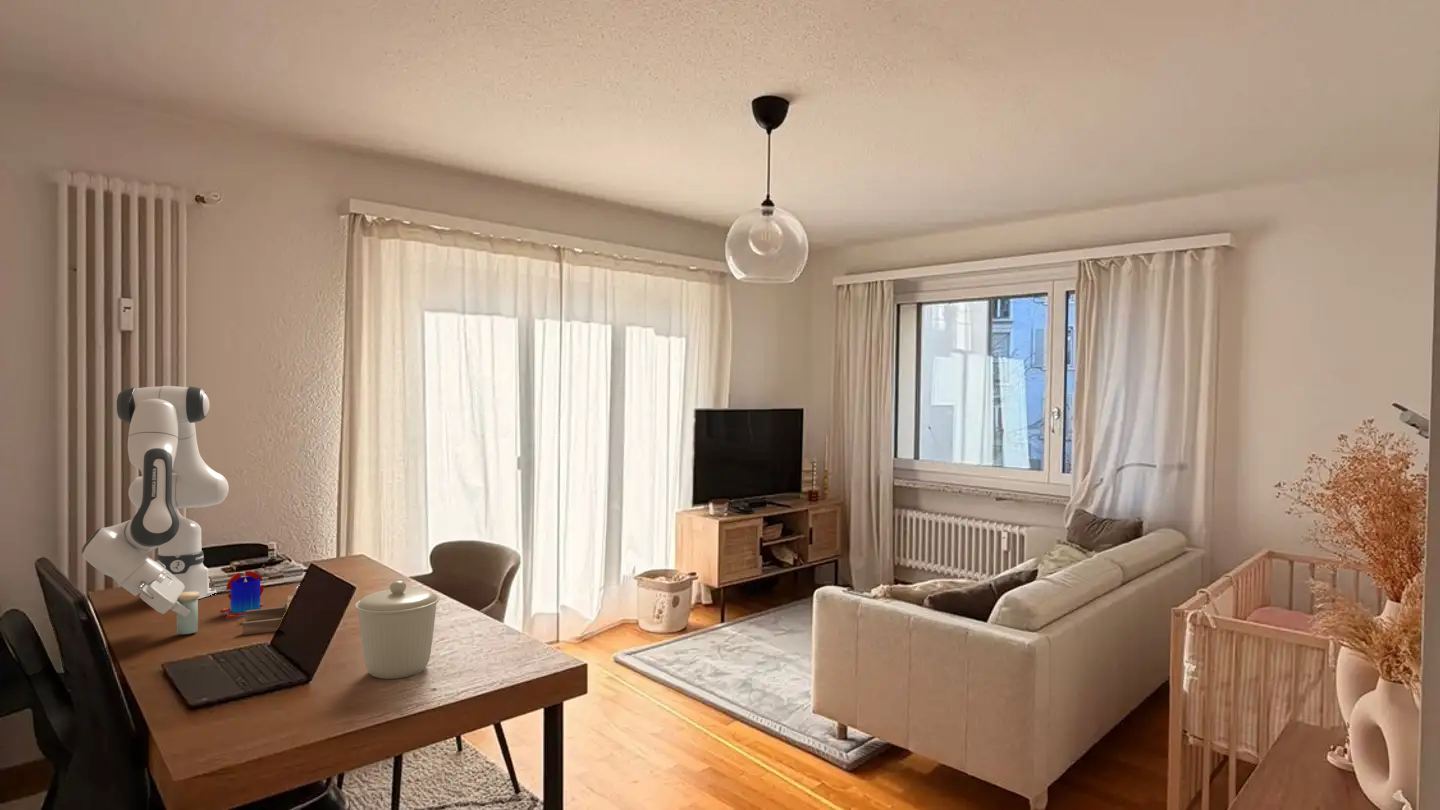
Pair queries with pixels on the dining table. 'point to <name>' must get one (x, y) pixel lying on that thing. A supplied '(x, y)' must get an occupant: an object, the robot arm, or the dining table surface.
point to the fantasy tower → (244, 594)
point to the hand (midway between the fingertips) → (190, 610)
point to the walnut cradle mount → (264, 619)
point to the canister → (397, 630)
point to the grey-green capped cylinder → (191, 620)
